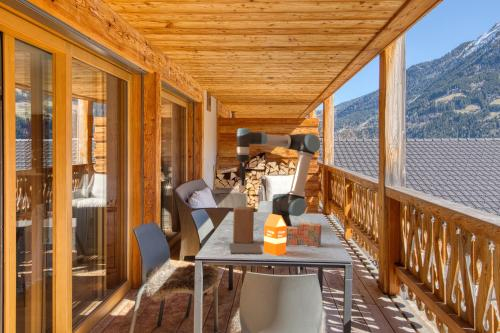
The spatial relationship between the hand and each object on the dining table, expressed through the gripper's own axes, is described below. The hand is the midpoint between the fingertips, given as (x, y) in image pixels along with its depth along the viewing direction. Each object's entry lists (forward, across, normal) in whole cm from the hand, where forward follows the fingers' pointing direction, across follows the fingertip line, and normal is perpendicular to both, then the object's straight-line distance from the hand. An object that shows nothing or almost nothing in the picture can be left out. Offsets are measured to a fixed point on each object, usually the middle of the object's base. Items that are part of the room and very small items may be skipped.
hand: (242, 189), depth 262 cm
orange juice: (+29, +37, +16) cm, 49 cm away
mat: (+29, +30, +1) cm, 42 cm away
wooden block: (+29, +14, 0) cm, 32 cm away
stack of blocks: (+29, +18, +33) cm, 48 cm away
